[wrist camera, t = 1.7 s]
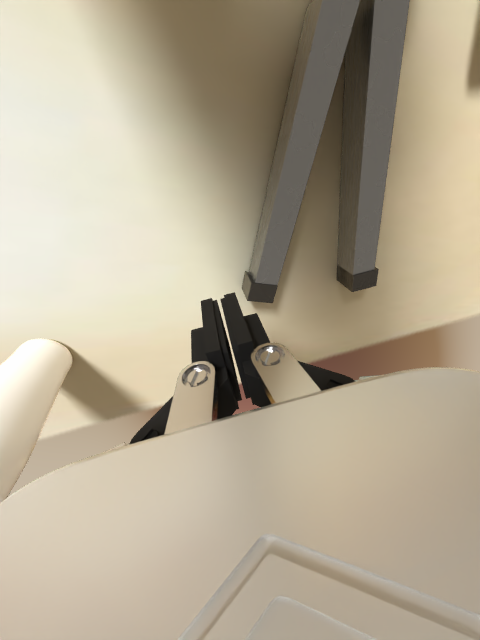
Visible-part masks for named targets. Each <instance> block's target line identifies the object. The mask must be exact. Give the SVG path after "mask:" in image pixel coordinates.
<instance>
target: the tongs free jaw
mask: <svg viewBox="0 0 480 640" xmlns="http://www.w3.org/2000/svg"><path fill="white" fill-rule="evenodd" d="M359 2H360V0H313V1H312V2H311V3H310V5H309V6H308V7H307V9H306V13H305V18H304V23H303V27H302V32H301V36H300V41H299V45H298V50H297V54H296V59H295V64H294V68H293V73H292V77H291V82H290V86H289V91H288V95H287V100H286V105H285V109H284V114H283V118H282V123H281V127H280V132H279V136H278V141H277V146H276V150H275V155H274V159H273V164H272V168H271V173H270V178H269V182H268V187H267V191H266V196H265V200H264V205H263V209H262V214H261V219H260V223H259V228H258V232H257V237H256V241H255V246H254V250H253V255H252V260H251V264H250V269H249V272H246V271H245V275H244V280H243V285H242V290H243V292H244V294H245V297H246V299H247V301H255V302H266V303H273V300H274V297H275V293H276V290H277V285H278V281H279V278H280V274H281V271H282V268H283V264H284V261H285V257H286V254H287V250H288V247H289V243H290V240H291V237H292V233H293V230H294V226H295V223H296V219H297V216H298V212H299V209H300V206H301V202H302V199H303V195H304V192H305V188H306V185H307V181H308V178H309V175H310V171H311V168H312V164H313V161H314V157H315V154H316V150H317V147H318V144H319V140H320V137H321V133H322V130H323V126H324V123H325V119H326V116H327V112H328V109H329V106H330V102H331V99H332V95H333V92H334V88H335V85H336V81H337V78H338V75H339V71H340V68H341V64H342V61H343V57H344V54H345V50H346V47H347V44H348V40H349V37H350V33H351V30H352V26H353V23H354V19H355V16H356V13H357V9H358V6H359Z"/></svg>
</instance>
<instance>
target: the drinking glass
mask: <svg viewBox="0 0 480 640" xmlns="http://www.w3.org/2000/svg"><path fill="white" fill-rule="evenodd" d="M72 361H73V359H72V355H71V353H70V351H69V350H68V349H67V348H66V347H65V346H64V345H62V344H60V343H58V342H56V341H53V340H50V339H32V340H29V341H26V342H24V343H23V344H22V345H20V346H19V347H18V348H17V349H16V350H15V352H14V353H13V354H12V355H11V356H10V357H9V358H7V359H6V360H5V361H4V362H3V363H2V364H1V365H0V503H1V502H2V501H4V500H5V499H6V498H7V497H8V495H9V494H10V492H11V490H12V488H13V487H14V485H15V483H16V482H17V480H18V478H19V476H20V475H21V473H22V471H23V469H24V467H25V465H26V464H27V461H28V460H29V457H30V456H31V453H32V451H33V449H34V447H35V445H36V443H37V441H38V438H39V436H40V434H41V432H42V429H43V427H44V425H45V422H46V420H47V418H48V415H49V413H50V411H51V408H52V406H53V404H54V401H55V399H56V397H57V395H58V392H59V390H60V388H61V385H62V383H63V381H64V379H65V377H66V375H67V373H68V371H69V370H70V368H71V366H72Z"/></svg>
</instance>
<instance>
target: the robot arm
mask: <svg viewBox="0 0 480 640" xmlns="http://www.w3.org/2000/svg"><path fill="white" fill-rule="evenodd" d="M224 297H225V298H222V299H221V303H222V307H223V312H224V316H225V320H226V324H227V328H228V333H229V337H230V341H231V345H232V349H233V353H234V356H235V360H236V364H237V367H238V371H239V374H240V378H241V382H242V385H243V389H244V393H245V396H246V399H247V398H250V397H251V399H252V403H253V405H254V404H255V405H257V406H259V407H261V408H257V409H254V410H250V411H246V412H243V413H239V414H236V415H232V414H233V413H234V412H235V410H236V409H239V407H238V402H237V401H239V400H242V398H241V394H240V389H239V385H238V381H237V376H236V372H235V367H234V363H233V359H232V354H231V350H230V346H229V342H228V338H227V335H226V331H225V328H224V324H223V321H222V317H221V313H220V310H219V306H218V303H217V300H215V301H213V300H212V298H211V299H207V300H203V301H201V309H202V320H203V327H202V328H198V329H194V330H192V331H191V349H192V364H190V365H188V366H186V367H185V368H184V369H183V370H182V371H181V372H180V374H179V376H178V379H177V383H176V387H175V392H174V396H173V397H172V398H171V399H170V400H169V401H168V402H167V403H166V404H165V405H164V406H163V407H162V408H161V409H160V410H159V411H158V412H157V413H156V414H155V415H154V416H153V417H152V418H151V419H150V420H149V421H148V422H147V423H146V424H145V425H144V426H143V427H142V428H141V429H140V430H139V431H138V432H137V434H136V435H135V436H134V437H133V439H132V440H131V442H130V443H129V444H127V445H126V443H125V442H124V443H122V444H120V445H118V446H116V447H113V448H111V449H109V450H107V451H105V452H104V453H101V454H97V455H94V456H91V457H88V458H85V459H82V460H79V461H76V462H73V463H71V464H68V465H66V466H64V467H61V468H58V469H56V470H54V471H52V472H50V473H48V474H46V475H44V476H42V477H40V478H38V479H36V480H34V481H33V482H31V483H29V484H27V485H26V486H24V487H23V488H21V489H19V490H18V491H16V492H15V493H13V494H12V495H10V496H9V497H8V498H6V499H5V500H4V501H2V502H1V503H0V640H480V372H478V371H474V370H468V369H461V368H443V367H434V368H418V369H411V370H404V371H398V372H394V373H390V374H385V375H378V376H364V377H359V380H353V379H351V378H350V377H347V376H345V375H342V374H339V373H335V372H332V371H329V370H325V369H322V368H319V367H316V366H313V365H309V364H306V363H303V362H300V361H297V360H296V359H295V358H294V357H293V355H292V354H291V353H290V352H289V350H288V349H287V348H286V347H285V346H283V345H281V344H279V343H270V341H269V339H268V336H267V334H266V332H265V330H264V328H263V326H262V323H261V321H260V319H259V317H258V315H257V313H255V314H251V315H248V316H244V317H243V314H242V311H241V308H240V306H239V303H238V300H237V297H236V295H235V292H234V293H230V294H226V295H224Z"/></svg>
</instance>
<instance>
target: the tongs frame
mask: <svg viewBox="0 0 480 640" xmlns="http://www.w3.org/2000/svg"><path fill="white" fill-rule="evenodd" d="M408 8H409V0H361V1H360V2H359V6H358V9H357V13H356V16H355V19H354V23H353V26H352V30H351V33H350V37H349V40H348V44H347V47H346V50H345V75H344V101H343V128H342V154H341V180H340V206H339V232H338V258H337V281H339V282H340V283H341V284H343V285H344V286H345V287H346V288H348V289H349V290H350V291H351V292H354V291H358V290H362V289H366V288H370V287H374V286H376V283H377V276H378V269H377V268H376V267H375V261H376V253H377V245H378V238H379V230H380V223H381V215H382V207H383V200H384V192H385V184H386V177H387V169H388V161H389V154H390V146H391V138H392V131H393V123H394V115H395V108H396V100H397V92H398V85H399V77H400V69H401V62H402V54H403V46H404V39H405V31H406V23H407V16H408Z"/></svg>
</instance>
